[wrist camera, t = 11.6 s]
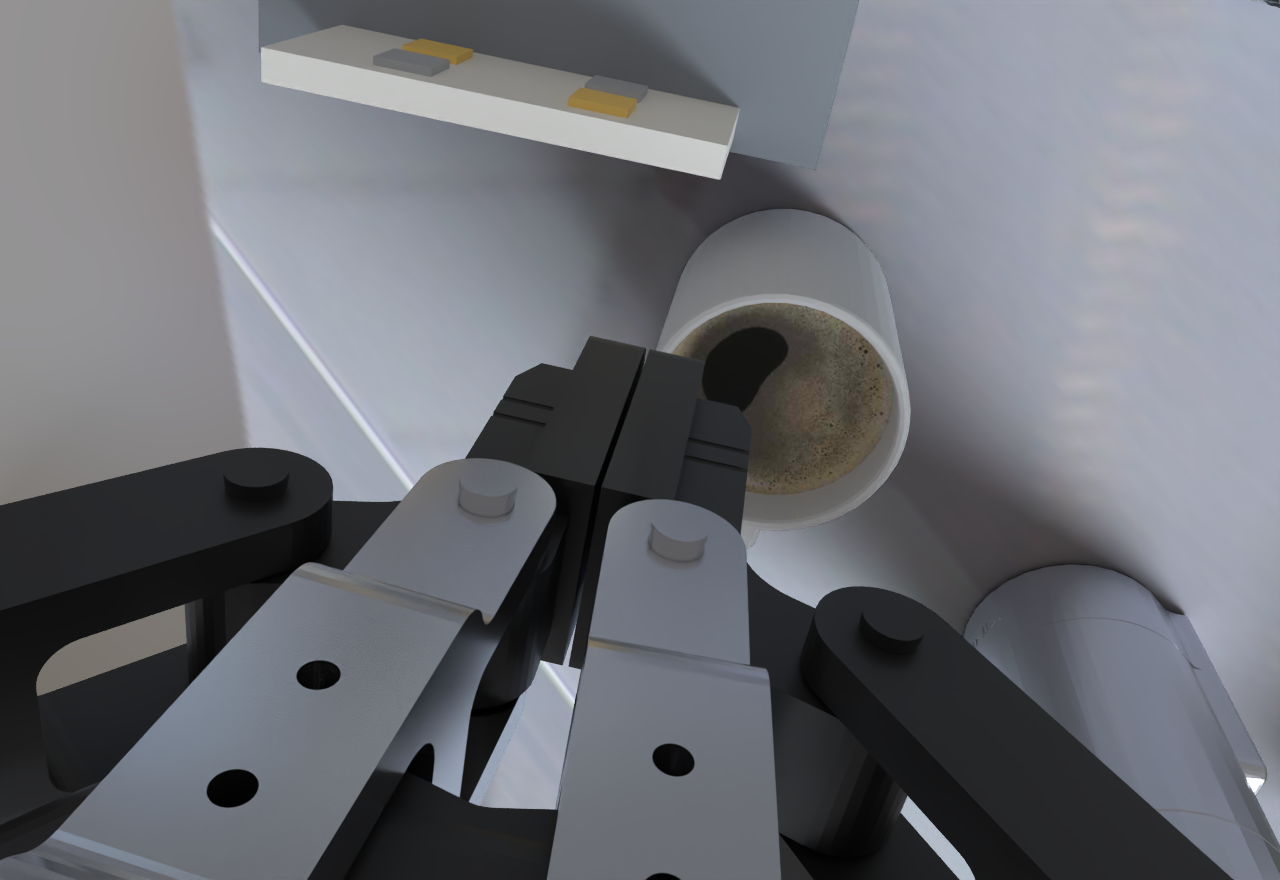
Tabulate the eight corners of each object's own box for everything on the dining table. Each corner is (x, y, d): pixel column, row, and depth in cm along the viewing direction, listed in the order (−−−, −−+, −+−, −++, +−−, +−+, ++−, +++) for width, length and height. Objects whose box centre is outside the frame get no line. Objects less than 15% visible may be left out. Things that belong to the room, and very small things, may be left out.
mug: (799, 160, 40) (796, 235, 31) (943, 339, 42) (978, 455, 34) (598, 326, 44) (546, 432, 36) (739, 478, 47) (723, 613, 38)
